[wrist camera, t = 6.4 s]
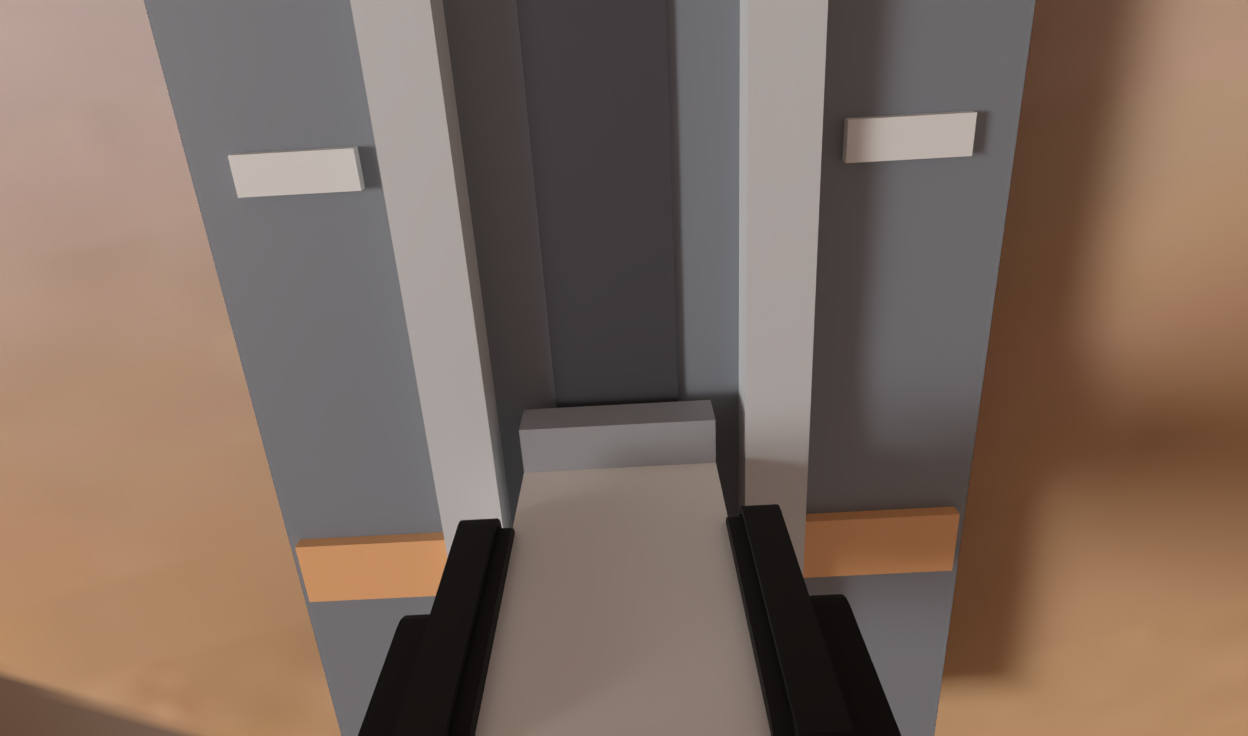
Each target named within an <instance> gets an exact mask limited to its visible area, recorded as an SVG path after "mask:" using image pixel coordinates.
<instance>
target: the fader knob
mask: <svg viewBox="0 0 1248 736" xmlns="http://www.w3.org/2000/svg"><path fill="white" fill-rule="evenodd" d="M519 435H520V444H521V452H522V460H523V468H524V475H523V480H522V485H521V490H520V495H519V500H518V504H517V509H516V514H515V519H514V524H513V528H514V531H515V536H514V541H513V546H512V551H511V556H510V561H509V566H508V571H507V576H506V581H505V586H504V591H503V596H502V601H501V606H500V611H499V617H498V622H497V627H496V632H495V637H494V642H493V647H492V652H491V657H490V662H489V667H488V672H487V677H486V682H485V687H484V692H483V697H482V702H481V707H480V712H479V718H478V723H477V728H476V733H475V736H771V733H770V728H769V724H768V719H767V714H766V709H765V705H764V700H763V695H762V691H761V686H760V681H759V677H758V672H757V667H756V662H755V658H754V653H753V648H752V644H751V639H750V634H749V630H748V625H747V620H746V615H745V611H744V606H743V601H742V597H741V592H740V587H739V583H738V578H737V573H736V568H735V564H734V559H733V554H732V550H731V545H730V540H729V536H728V531H727V526H726V517H728V516H727V511H726V507H725V502H724V498H723V493H722V488H721V484H720V479H719V475H718V470H717V466H716V431H715V416H714V412H713V408H712V404H711V400H698V401H679V402H660V403H641V404H622V405H603V406H584V407H565V408H546V409H527V410H524V411H523V415H522V419H521V423H520V428H519Z"/></svg>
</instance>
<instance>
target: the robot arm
mask: <svg viewBox="0 0 1248 736" xmlns="http://www.w3.org/2000/svg"><path fill="white" fill-rule="evenodd" d="M726 526H727V531H728V536H729V540H730V545H731V550H732V554H733V559H734V564H735V568H736V573H737V578H738V583H739V587H740V592H741V597H742V601H743V606H744V611H745V615H746V620H747V625H748V630H749V634H750V639H751V644H752V648H753V653H754V658H755V662H756V667H757V672H758V677H759V681H760V686H761V691H762V695H763V700H764V705H765V709H766V714H767V719H768V724H769V728H770V733H771V736H901V733H900V731H899V728H898V726H897V723H896V721H895V718H894V716H893V713H892V711H891V708H890V705H889V703H888V700H887V698H886V695H885V693H884V690H883V688H882V685H881V683H880V680H879V677H878V675H877V672H876V670H875V667H874V665H873V662H872V660H871V657H870V655H869V652H868V650H867V647H866V644H865V642H864V639H863V637H862V634H861V632H860V629H859V627H858V624H857V622H856V619H855V617H854V614H853V611H852V609H851V606H850V604H849V602H848V600H847V598H846V597H845V596H844V595H843V594H833V595H812V596H809V593H808V590H807V587H806V584H805V581H804V578H803V575H802V572H801V569H800V566H799V563H798V560H797V557H796V554H795V551H794V548H793V545H792V542H791V539H790V536H789V533H788V530H787V527H786V524H785V521H784V518H783V514H782V511H781V509H780V506H779V505H778V504H771V505H751V506H740V509H739V516H733V517H726ZM514 536H515V531H514V528H502V526H501V522H500V520H499V519H498V518H494V519H474V520H461V521H460V522H459V524H458V526H457V529H456V533H455V536H454V539H453V542H452V545H451V549H450V552H449V555H448V558H447V561H446V565H445V568H444V571H443V574H442V577H441V581H440V584H439V587H438V590H437V593H436V596H435V600H434V603H433V606H432V609H431V612H430V614H423V615H405V616H404V617H403V618H402V619H401V620H400V622H399V624H398V626H397V628H396V631H395V634H394V637H393V639H392V642H391V645H390V648H389V651H388V653H387V656H386V659H385V662H384V664H383V667H382V670H381V673H380V675H379V678H378V681H377V684H376V687H375V689H374V692H373V695H372V698H371V700H370V703H369V706H368V709H367V712H366V714H365V717H364V720H363V723H362V725H361V728H360V731H359V734H358V736H475V733H476V728H477V723H478V718H479V712H480V707H481V702H482V697H483V692H484V687H485V682H486V677H487V672H488V667H489V662H490V657H491V652H492V647H493V642H494V637H495V632H496V627H497V622H498V617H499V611H500V606H501V601H502V596H503V591H504V586H505V581H506V576H507V571H508V566H509V561H510V556H511V551H512V546H513V541H514Z"/></svg>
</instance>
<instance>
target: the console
mask: <svg viewBox="0 0 1248 736" xmlns="http://www.w3.org/2000/svg"><path fill="white" fill-rule="evenodd" d="M1035 1H1036V0H144V3H145V7H146V10H147V14H148V18H149V22H150V25H151V29H152V33H153V36H154V40H155V44H156V48H157V51H158V55H159V59H160V62H161V66H162V70H163V74H164V77H165V81H166V85H167V89H168V92H169V96H170V100H171V103H172V107H173V111H174V115H175V118H176V122H177V126H178V129H179V133H180V137H181V141H182V144H183V148H184V152H185V155H186V159H187V163H188V167H189V170H190V174H191V178H192V181H193V185H194V189H195V193H196V196H197V200H198V204H199V207H200V211H201V215H202V219H203V222H204V226H205V230H206V233H207V237H208V241H209V245H210V248H211V252H212V256H213V260H214V263H215V267H216V271H217V274H218V278H219V282H220V286H221V289H222V293H223V297H224V300H225V304H226V308H227V312H228V315H229V319H230V323H231V326H232V330H233V334H234V338H235V341H236V345H237V349H238V352H239V356H240V360H241V364H242V367H243V371H244V375H245V378H246V382H247V386H248V390H249V393H250V397H251V401H252V404H253V408H254V412H255V416H256V419H257V423H258V427H259V431H260V434H261V438H262V442H263V445H264V449H265V453H266V457H267V460H268V464H269V468H270V471H271V475H272V479H273V483H274V486H275V490H276V494H277V497H278V501H279V505H280V509H281V512H282V516H283V520H284V523H285V527H286V531H287V535H288V538H289V542H290V546H291V549H292V553H293V557H294V561H295V564H296V568H297V572H298V575H299V579H300V583H301V587H302V590H303V594H304V598H305V601H306V605H307V609H308V613H309V616H310V620H311V624H312V628H313V631H314V635H315V639H316V642H317V646H318V650H319V654H320V657H321V661H322V665H323V668H324V672H325V676H326V680H327V683H328V687H329V691H330V694H331V698H332V702H333V706H334V709H335V713H336V717H337V720H338V724H339V728H340V732H341V735H342V736H358V734H359V731H360V728H361V725H362V723H363V720H364V717H365V714H366V712H367V709H368V706H369V703H370V700H371V698H372V695H373V692H374V689H375V687H376V684H377V681H378V678H379V675H380V673H381V670H382V667H383V664H384V662H385V659H386V656H387V653H388V651H389V648H390V645H391V642H392V639H393V637H394V634H395V631H396V628H397V626H398V624H399V622H400V620H401V619H402V618H403V617H404V616H405V615H423V614H430V612H431V609H432V606H433V603H434V600H435V596H436V593H437V590H438V587H439V584H440V581H441V577H442V574H443V571H444V568H445V565H446V561H447V558H448V555H449V552H450V549H451V545H452V542H453V539H454V536H455V533H456V529H457V526H458V524H459V522H460V521H461V520H474V519H494V518H498V519H499V520H500V522H501V526H502V528H513V524H514V519H515V514H516V509H517V504H518V500H519V495H520V490H521V485H522V480H523V475H524V468H523V460H522V452H521V444H520V435H519V428H520V423H521V419H522V415H523V411H524V410H527V409H546V408H565V407H584V406H603V405H622V404H641V403H660V402H679V401H698V400H711V404H712V408H713V412H714V416H715V431H716V466H717V470H718V475H719V479H720V484H721V488H722V493H723V498H724V502H725V507H726V511H727V516H728V517H733V516H739V509H740V506H751V505H771V504H778V505H779V506H780V509H781V511H782V514H783V518H784V521H785V524H786V527H787V530H788V533H789V536H790V539H791V542H792V545H793V548H794V551H795V554H796V557H797V560H798V563H799V566H800V569H801V572H802V575H803V578H804V581H805V584H806V587H807V590H808V593H809V596H812V595H833V594H843V595H844V596H845V597H846V598H847V600H848V602H849V604H850V606H851V609H852V611H853V614H854V617H855V619H856V622H857V624H858V627H859V629H860V632H861V634H862V637H863V639H864V642H865V644H866V647H867V650H868V652H869V655H870V657H871V660H872V662H873V665H874V667H875V670H876V672H877V675H878V677H879V680H880V683H881V685H882V688H883V690H884V693H885V695H886V698H887V700H888V703H889V705H890V708H891V711H892V713H893V716H894V718H895V721H896V723H897V726H898V728H899V731H900V733H901V736H934V733H935V726H936V719H937V712H938V704H939V697H940V690H941V683H942V675H943V668H944V661H945V654H946V646H947V639H948V632H949V625H950V617H951V610H952V603H953V596H954V588H955V581H956V574H957V567H958V559H959V552H960V545H961V538H962V530H963V523H964V516H965V509H966V501H967V494H968V487H969V480H970V472H971V465H972V458H973V451H974V443H975V436H976V429H977V422H978V414H979V407H980V400H981V393H982V385H983V378H984V371H985V364H986V356H987V349H988V342H989V335H990V327H991V320H992V313H993V306H994V298H995V291H996V284H997V277H998V269H999V262H1000V255H1001V248H1002V240H1003V233H1004V226H1005V219H1006V211H1007V204H1008V197H1009V190H1010V182H1011V175H1012V168H1013V161H1014V153H1015V146H1016V139H1017V132H1018V124H1019V117H1020V110H1021V103H1022V95H1023V88H1024V81H1025V74H1026V66H1027V59H1028V52H1029V45H1030V38H1031V30H1032V23H1033V16H1034V9H1035Z"/></svg>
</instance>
